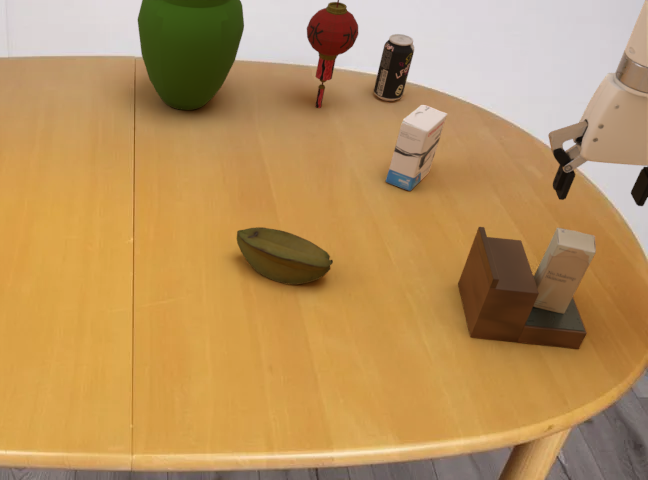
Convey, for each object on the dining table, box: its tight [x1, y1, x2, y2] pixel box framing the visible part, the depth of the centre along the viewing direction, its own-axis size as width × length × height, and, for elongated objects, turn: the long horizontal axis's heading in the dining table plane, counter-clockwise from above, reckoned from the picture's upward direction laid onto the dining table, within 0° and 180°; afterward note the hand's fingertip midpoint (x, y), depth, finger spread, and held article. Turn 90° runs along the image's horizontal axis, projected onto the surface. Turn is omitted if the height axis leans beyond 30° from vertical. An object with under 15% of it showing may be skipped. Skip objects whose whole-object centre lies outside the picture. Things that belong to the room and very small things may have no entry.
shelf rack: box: [457, 226, 588, 350], centre depth 123 cm, size 15×12×11 cm
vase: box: [137, 0, 245, 111], centre depth 162 cm, size 20×20×24 cm
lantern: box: [306, 0, 359, 109], centre depth 161 cm, size 10×10×30 cm
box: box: [533, 226, 597, 314], centre depth 121 cm, size 5×4×11 cm
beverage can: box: [373, 33, 415, 102], centre depth 171 cm, size 6×6×12 cm
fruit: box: [236, 226, 334, 286], centre depth 130 cm, size 11×12×7 cm
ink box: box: [385, 104, 448, 192], centre depth 149 cm, size 8×5×12 cm, turn 143°
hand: (597, 197), depth 113 cm, fingers open, 9 cm apart
